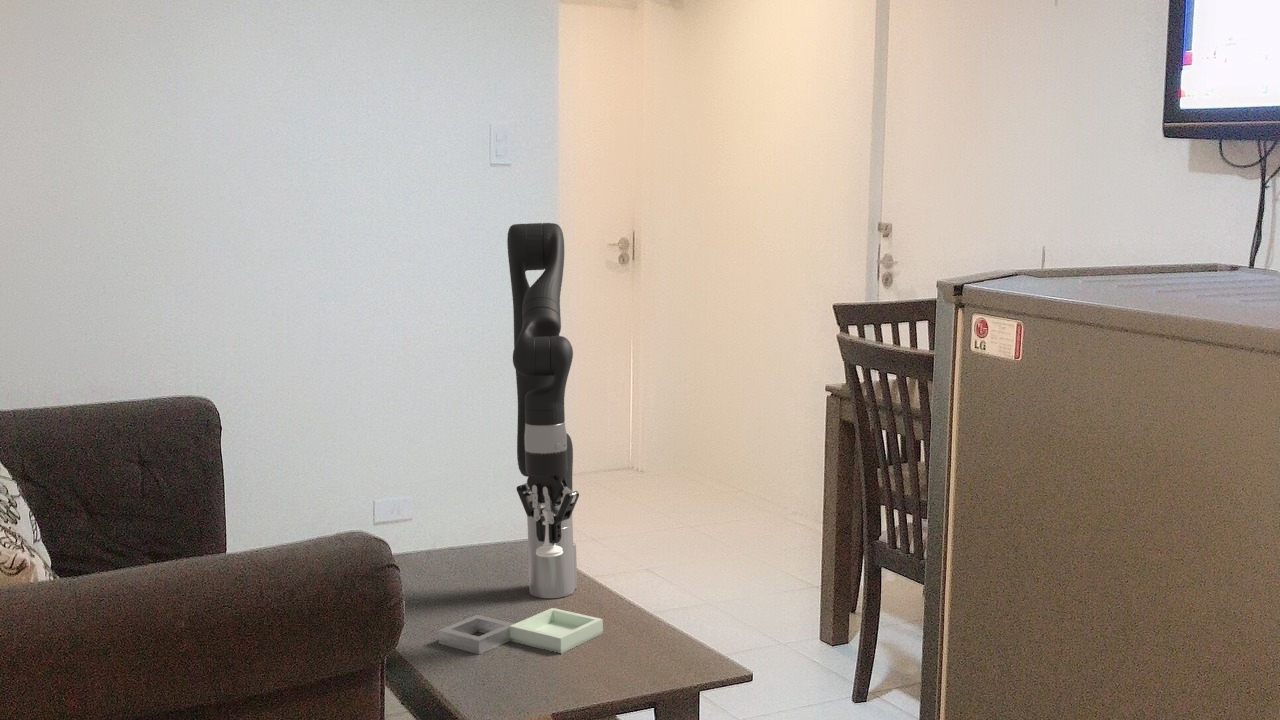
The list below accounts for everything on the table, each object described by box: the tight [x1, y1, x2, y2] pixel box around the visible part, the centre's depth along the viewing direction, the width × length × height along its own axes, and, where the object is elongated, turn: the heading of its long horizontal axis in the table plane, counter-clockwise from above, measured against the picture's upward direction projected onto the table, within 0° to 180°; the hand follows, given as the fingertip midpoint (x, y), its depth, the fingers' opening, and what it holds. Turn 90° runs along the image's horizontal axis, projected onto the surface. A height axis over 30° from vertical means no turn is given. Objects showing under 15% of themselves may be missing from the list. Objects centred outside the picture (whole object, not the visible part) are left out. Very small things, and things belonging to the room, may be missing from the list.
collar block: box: [438, 614, 514, 655], centre depth 210 cm, size 10×10×2 cm
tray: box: [509, 607, 604, 655], centre depth 211 cm, size 12×12×3 cm
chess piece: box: [536, 503, 563, 557], centre depth 208 cm, size 5×5×10 cm
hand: (548, 541), depth 209 cm, fingers closed on chess piece
